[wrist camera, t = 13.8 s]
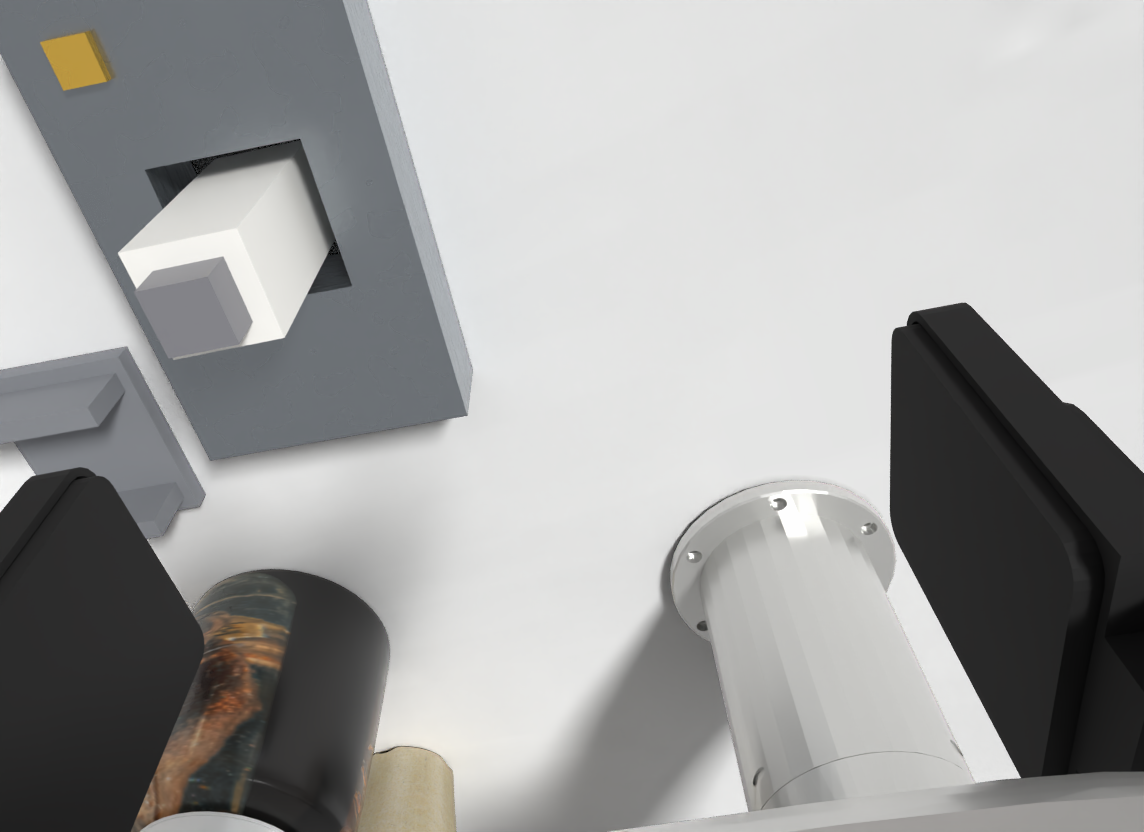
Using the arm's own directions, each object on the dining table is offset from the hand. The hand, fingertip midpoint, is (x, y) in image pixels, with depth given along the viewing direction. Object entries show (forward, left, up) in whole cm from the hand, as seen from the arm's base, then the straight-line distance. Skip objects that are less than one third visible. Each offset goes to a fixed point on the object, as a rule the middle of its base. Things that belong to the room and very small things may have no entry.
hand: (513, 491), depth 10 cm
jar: (-30, +21, -28) cm, 46 cm away
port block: (-4, +12, -28) cm, 31 cm away
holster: (-14, +25, -28) cm, 40 cm away
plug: (-4, +12, -28) cm, 31 cm away
